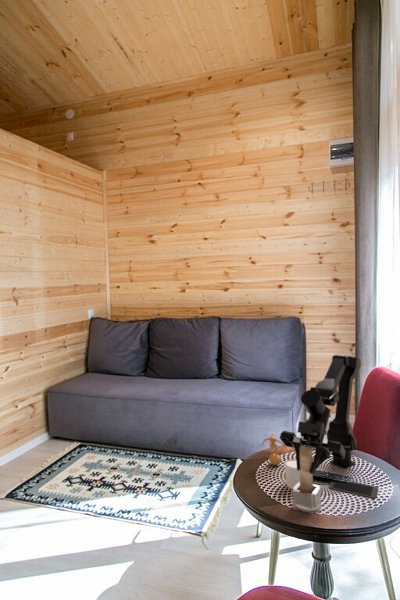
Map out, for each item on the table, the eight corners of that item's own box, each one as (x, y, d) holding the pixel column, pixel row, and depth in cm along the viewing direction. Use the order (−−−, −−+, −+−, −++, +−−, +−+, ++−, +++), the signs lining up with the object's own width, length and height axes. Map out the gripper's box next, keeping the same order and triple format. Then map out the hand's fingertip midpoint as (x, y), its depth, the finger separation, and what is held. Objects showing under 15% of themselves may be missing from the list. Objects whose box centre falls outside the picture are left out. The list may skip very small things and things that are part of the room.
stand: (299, 495, 125) (299, 477, 125) (325, 502, 121) (324, 484, 120) (288, 506, 119) (288, 488, 119) (315, 515, 114) (314, 496, 114)
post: (303, 484, 122) (302, 444, 122) (315, 487, 120) (314, 447, 120) (298, 489, 119) (297, 449, 119) (310, 493, 117) (309, 452, 117)
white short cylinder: (307, 491, 128) (306, 469, 127) (284, 489, 129) (284, 468, 129) (305, 480, 134) (305, 459, 134) (284, 479, 136) (284, 458, 135)
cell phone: (375, 500, 122) (375, 498, 122) (328, 489, 129) (328, 487, 129) (379, 489, 128) (379, 487, 128) (333, 479, 135) (333, 477, 135)
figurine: (287, 464, 147) (287, 431, 146) (284, 471, 141) (283, 437, 141) (265, 460, 150) (264, 428, 150) (260, 467, 145) (259, 434, 144)
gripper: (281, 405, 128) (265, 452, 119) (341, 415, 116) (329, 467, 108) (292, 422, 134) (278, 468, 126) (350, 433, 123) (339, 484, 115)
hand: (304, 471), depth 118 cm, fingers closed on post, 4 cm apart
